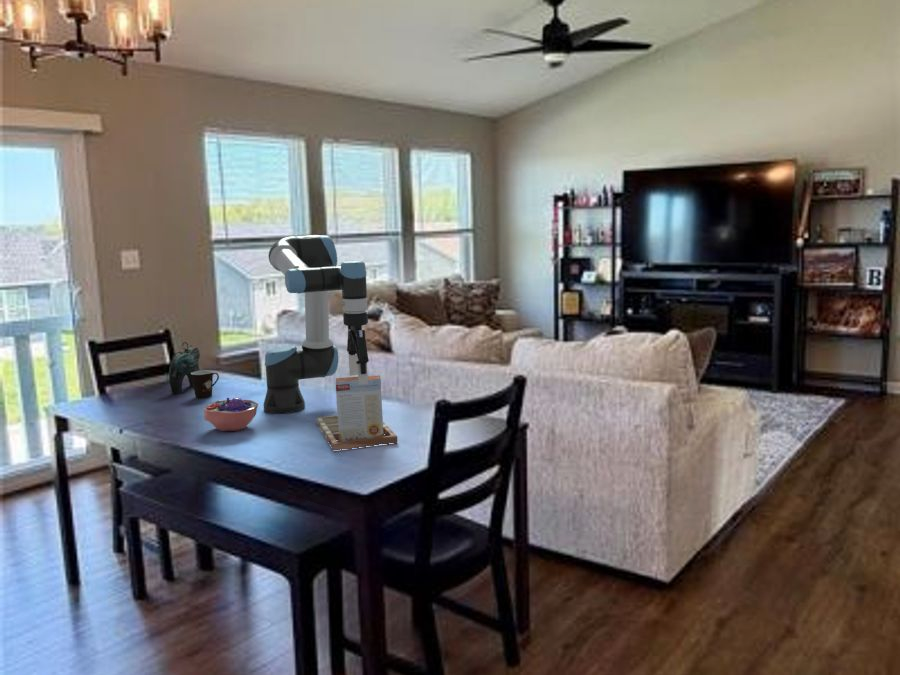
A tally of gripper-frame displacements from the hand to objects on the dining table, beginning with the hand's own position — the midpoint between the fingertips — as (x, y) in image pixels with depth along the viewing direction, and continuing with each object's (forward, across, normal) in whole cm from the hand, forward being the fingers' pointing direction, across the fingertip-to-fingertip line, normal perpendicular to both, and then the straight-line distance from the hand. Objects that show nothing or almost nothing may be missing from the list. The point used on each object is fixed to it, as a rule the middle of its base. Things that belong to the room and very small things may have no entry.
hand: (358, 379), depth 230 cm
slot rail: (+20, -10, 0) cm, 23 cm away
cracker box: (+21, 0, 0) cm, 21 cm away
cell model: (+21, -34, -38) cm, 55 cm away
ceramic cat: (+22, -107, -53) cm, 121 cm away
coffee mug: (+21, -89, -45) cm, 102 cm away
